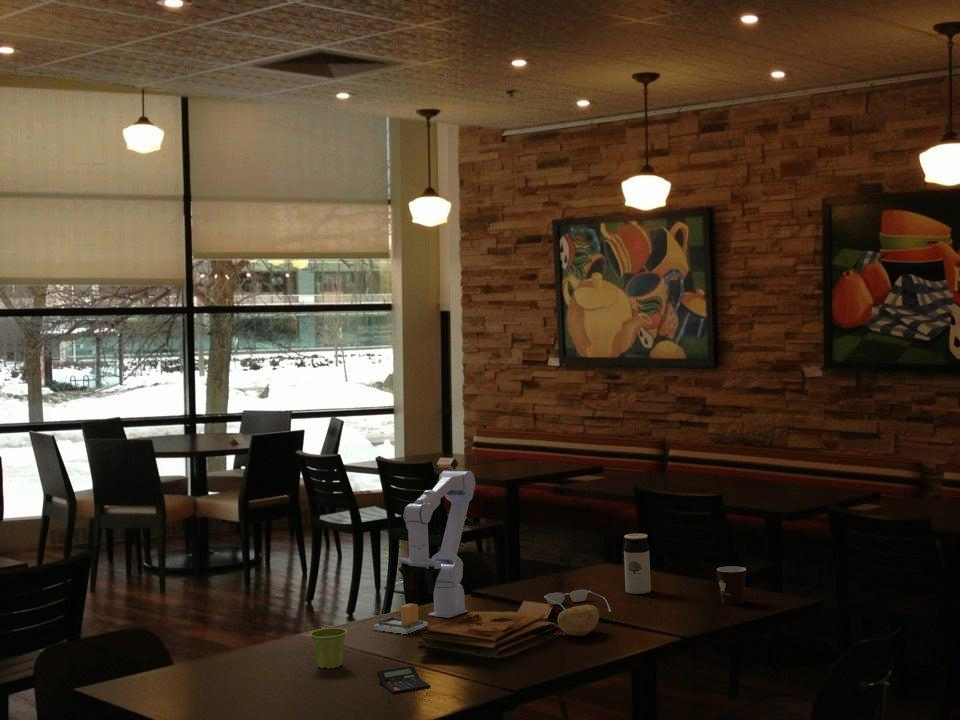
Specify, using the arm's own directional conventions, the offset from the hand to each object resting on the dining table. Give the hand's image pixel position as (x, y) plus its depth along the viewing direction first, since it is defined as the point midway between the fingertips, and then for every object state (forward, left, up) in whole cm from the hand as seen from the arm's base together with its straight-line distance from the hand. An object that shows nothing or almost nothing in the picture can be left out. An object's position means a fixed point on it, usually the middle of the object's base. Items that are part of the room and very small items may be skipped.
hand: (420, 591), depth 342 cm
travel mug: (-66, +35, -10) cm, 75 cm away
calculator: (+49, +34, -10) cm, 61 cm away
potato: (-11, +47, -10) cm, 49 cm away
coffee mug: (-66, +67, -10) cm, 95 cm away
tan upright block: (+6, 0, -8) cm, 10 cm away
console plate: (+6, -3, -10) cm, 12 cm away
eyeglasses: (-38, +30, -11) cm, 50 cm away
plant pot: (+45, +6, -10) cm, 47 cm away
